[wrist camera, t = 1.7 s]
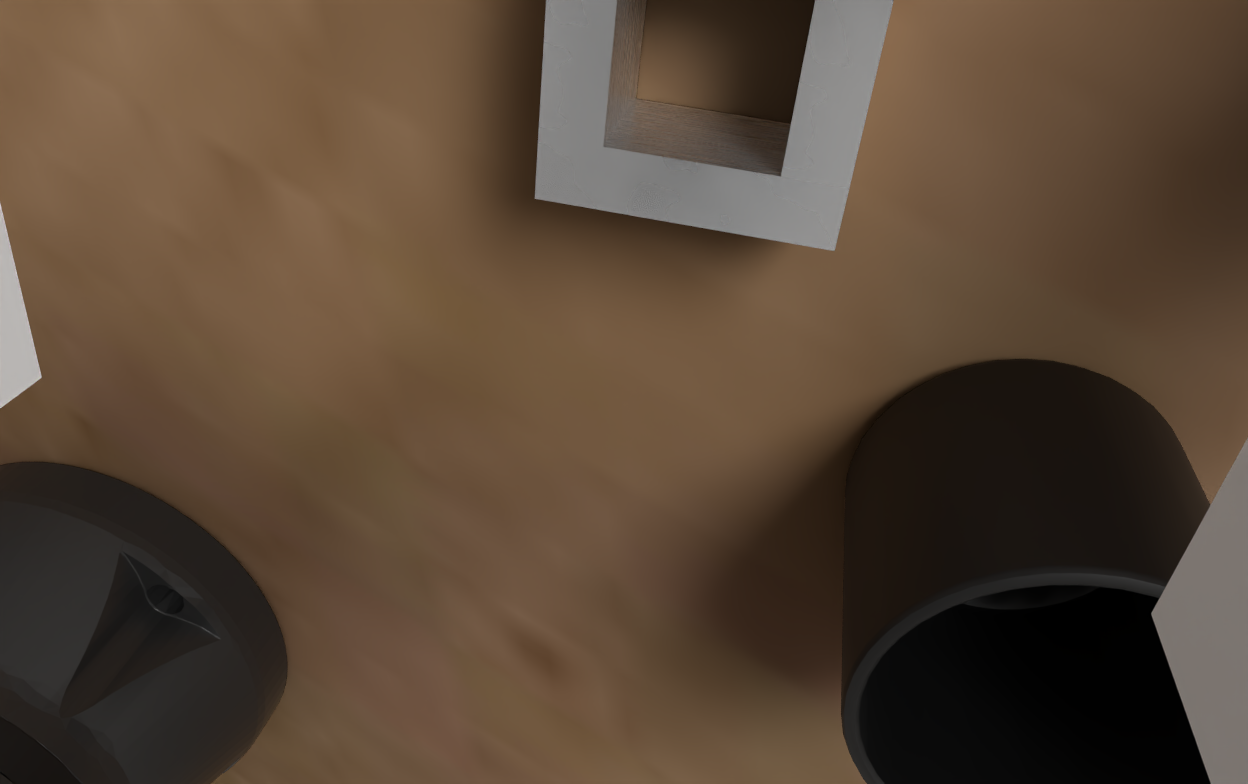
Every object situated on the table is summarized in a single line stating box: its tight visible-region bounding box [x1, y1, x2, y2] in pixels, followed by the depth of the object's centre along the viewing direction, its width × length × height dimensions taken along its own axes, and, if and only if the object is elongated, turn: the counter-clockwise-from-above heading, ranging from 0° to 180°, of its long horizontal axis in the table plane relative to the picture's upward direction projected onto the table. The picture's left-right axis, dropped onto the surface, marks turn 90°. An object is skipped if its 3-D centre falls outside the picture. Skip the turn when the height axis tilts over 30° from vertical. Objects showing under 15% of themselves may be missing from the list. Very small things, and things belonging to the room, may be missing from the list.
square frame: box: [535, 0, 894, 251], centre depth 23 cm, size 7×7×4 cm
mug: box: [841, 359, 1211, 784], centre depth 27 cm, size 9×12×9 cm
